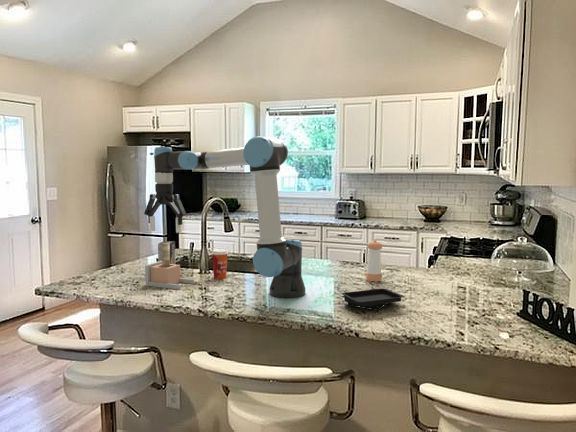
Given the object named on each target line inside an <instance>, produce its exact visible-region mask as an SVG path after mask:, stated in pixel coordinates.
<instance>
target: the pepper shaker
mask: <svg viewBox="0 0 576 432" xmlns="http://www.w3.org/2000/svg"><path fill="white" fill-rule="evenodd" d="M367 249H368V258H367V259H368V260H367V265H366V266H367V267H366V270H367V271H366V273H365V274H366V275H365V281H367V280H368V281H367V282H370V281H381V280H382V281H383V273H382V261H381V254H382V253H381V251H382V249H383V244H382V242H379V241H377V240H376V239H374V240H373V241H370V242H368V243H367ZM382 281H381V282H382Z"/></svg>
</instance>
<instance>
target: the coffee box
mask: <svg viewBox="0 0 576 432" xmlns="http://www.w3.org/2000/svg"><path fill="white" fill-rule="evenodd" d="M162 243H170V264H176V241H175V240H173V241H172V240H171V241H170V240H169V241H167V240H166V241H165V240H164V241H162V242H159V243H157V262H158V261H162Z"/></svg>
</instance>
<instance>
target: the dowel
mask: <svg viewBox="0 0 576 432" xmlns="http://www.w3.org/2000/svg"><path fill="white" fill-rule="evenodd" d="M162 267H165V268H167V267H170V243H162Z"/></svg>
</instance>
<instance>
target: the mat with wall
mask: <svg viewBox="0 0 576 432" xmlns="http://www.w3.org/2000/svg"><path fill="white" fill-rule="evenodd" d="M159 264H162V261H158V260H157V261H155V262H152V263H149V264H144V265H145V266H144V272H145V273H144V277H145V278H144V279H145V281H144V282H145V286H148V287H156V288H157V287H158V288H164V289H165V288H166V289H172V290H173V289H175V290H181V284H168V283H160V282H151V267H153V266H156V265H159ZM180 283H185V284H192V285H194V284H195V279H192V278H183V277H180Z"/></svg>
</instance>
